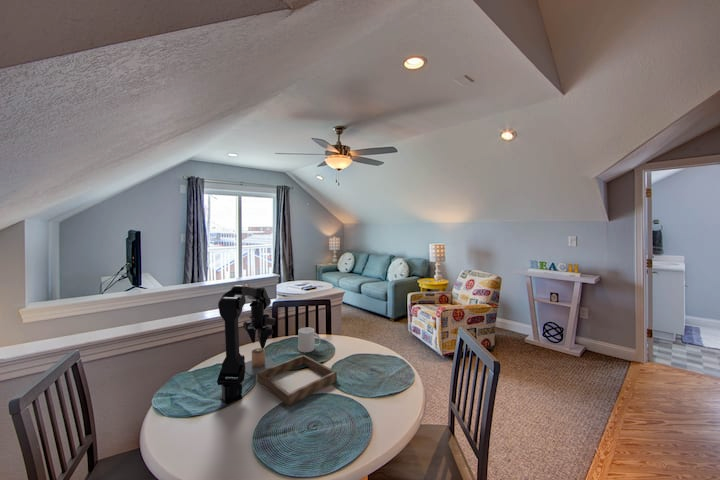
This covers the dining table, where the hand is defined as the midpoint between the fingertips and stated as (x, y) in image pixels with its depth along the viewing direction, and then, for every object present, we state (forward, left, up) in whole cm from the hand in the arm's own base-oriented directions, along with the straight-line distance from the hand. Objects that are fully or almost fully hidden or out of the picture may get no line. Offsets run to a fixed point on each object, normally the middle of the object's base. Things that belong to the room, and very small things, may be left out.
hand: (258, 345), depth 143 cm
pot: (0, 0, -10) cm, 10 cm away
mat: (0, 0, -10) cm, 10 cm away
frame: (+5, -25, -10) cm, 27 cm away
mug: (+28, -3, -10) cm, 30 cm away
